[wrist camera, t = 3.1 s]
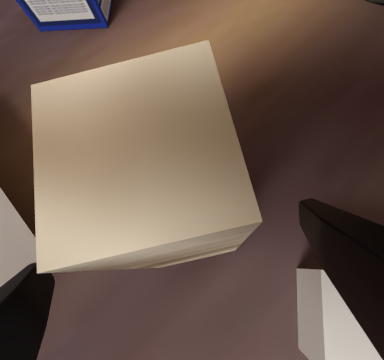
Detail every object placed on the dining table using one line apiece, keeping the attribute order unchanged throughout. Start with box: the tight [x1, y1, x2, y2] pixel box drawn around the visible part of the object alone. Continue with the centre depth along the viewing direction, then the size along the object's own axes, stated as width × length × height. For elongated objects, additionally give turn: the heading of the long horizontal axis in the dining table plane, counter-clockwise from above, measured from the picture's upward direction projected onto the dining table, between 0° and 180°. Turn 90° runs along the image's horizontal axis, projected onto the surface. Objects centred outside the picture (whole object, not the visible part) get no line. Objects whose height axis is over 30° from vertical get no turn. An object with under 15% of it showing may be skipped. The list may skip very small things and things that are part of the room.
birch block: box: [31, 40, 263, 274], centre depth 13 cm, size 5×5×13 cm
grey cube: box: [297, 268, 382, 360], centre depth 14 cm, size 4×4×4 cm
